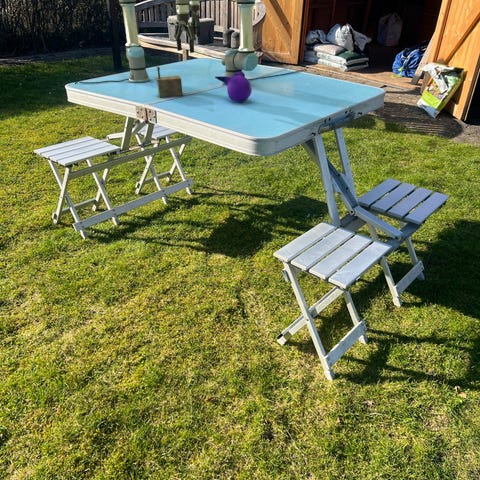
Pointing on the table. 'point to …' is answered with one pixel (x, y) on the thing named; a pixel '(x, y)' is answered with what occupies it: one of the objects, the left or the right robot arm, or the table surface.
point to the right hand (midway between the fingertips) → (185, 51)
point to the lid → (171, 78)
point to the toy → (237, 86)
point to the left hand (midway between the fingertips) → (196, 35)
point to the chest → (169, 88)
